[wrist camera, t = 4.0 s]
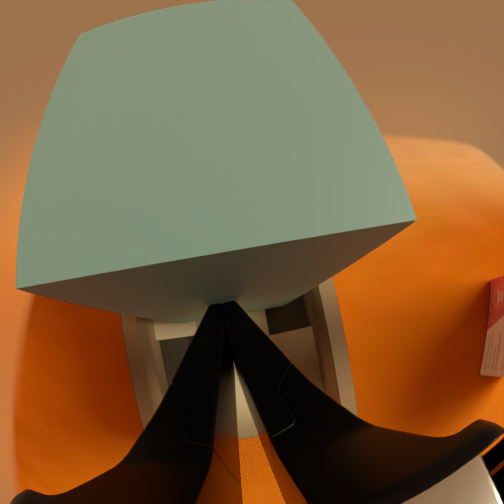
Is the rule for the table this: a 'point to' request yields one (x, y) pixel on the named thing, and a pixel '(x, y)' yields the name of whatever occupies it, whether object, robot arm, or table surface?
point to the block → (203, 166)
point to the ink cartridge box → (495, 332)
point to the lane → (271, 323)
